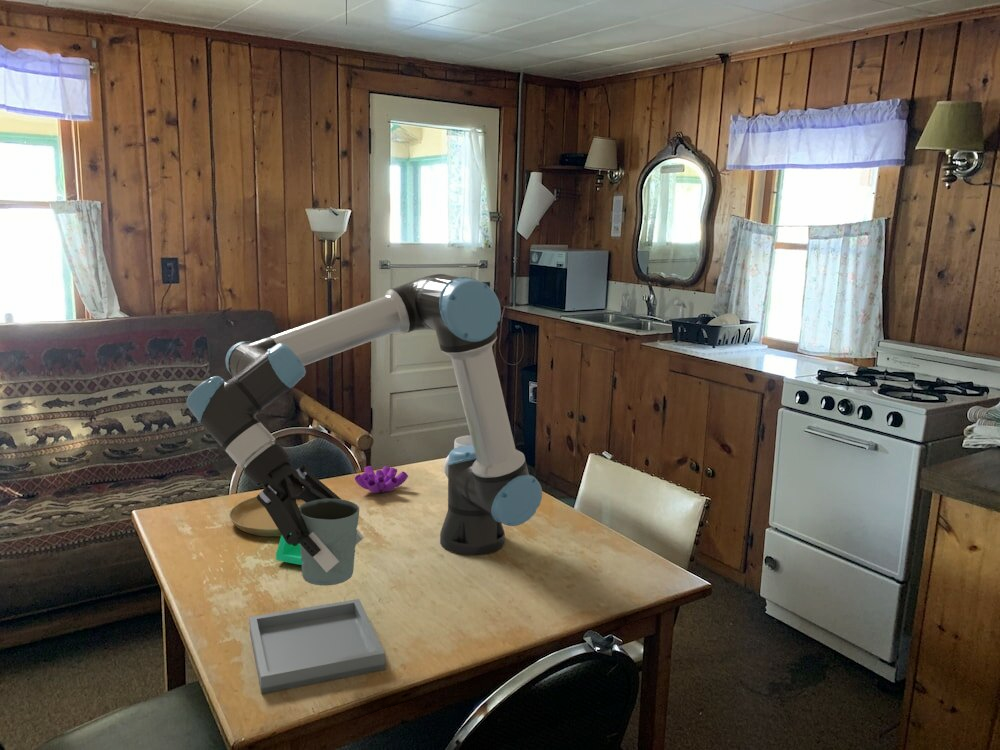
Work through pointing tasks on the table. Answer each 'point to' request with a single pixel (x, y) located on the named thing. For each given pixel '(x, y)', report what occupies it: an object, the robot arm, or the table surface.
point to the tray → (314, 645)
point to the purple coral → (380, 479)
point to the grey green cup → (330, 539)
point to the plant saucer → (255, 518)
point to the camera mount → (288, 552)
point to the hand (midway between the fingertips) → (346, 554)
